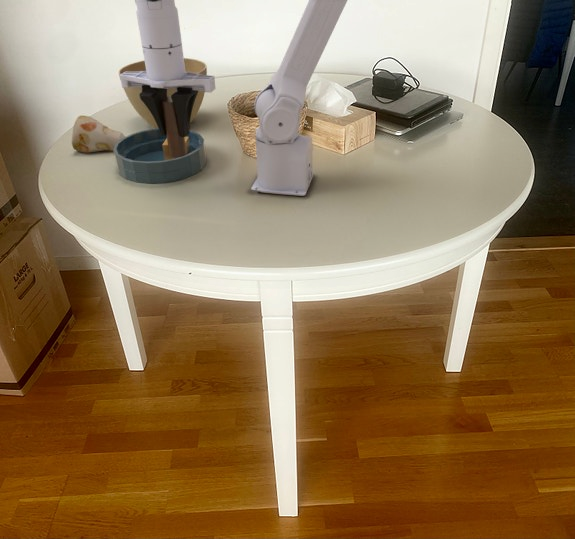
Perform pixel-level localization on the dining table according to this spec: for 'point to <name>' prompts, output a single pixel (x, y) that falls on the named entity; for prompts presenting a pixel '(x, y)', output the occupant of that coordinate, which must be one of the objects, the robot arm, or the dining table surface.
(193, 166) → the bowl
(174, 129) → the stick
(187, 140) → the block
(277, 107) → the robot arm
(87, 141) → the cream tapered piece
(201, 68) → the flower pot
